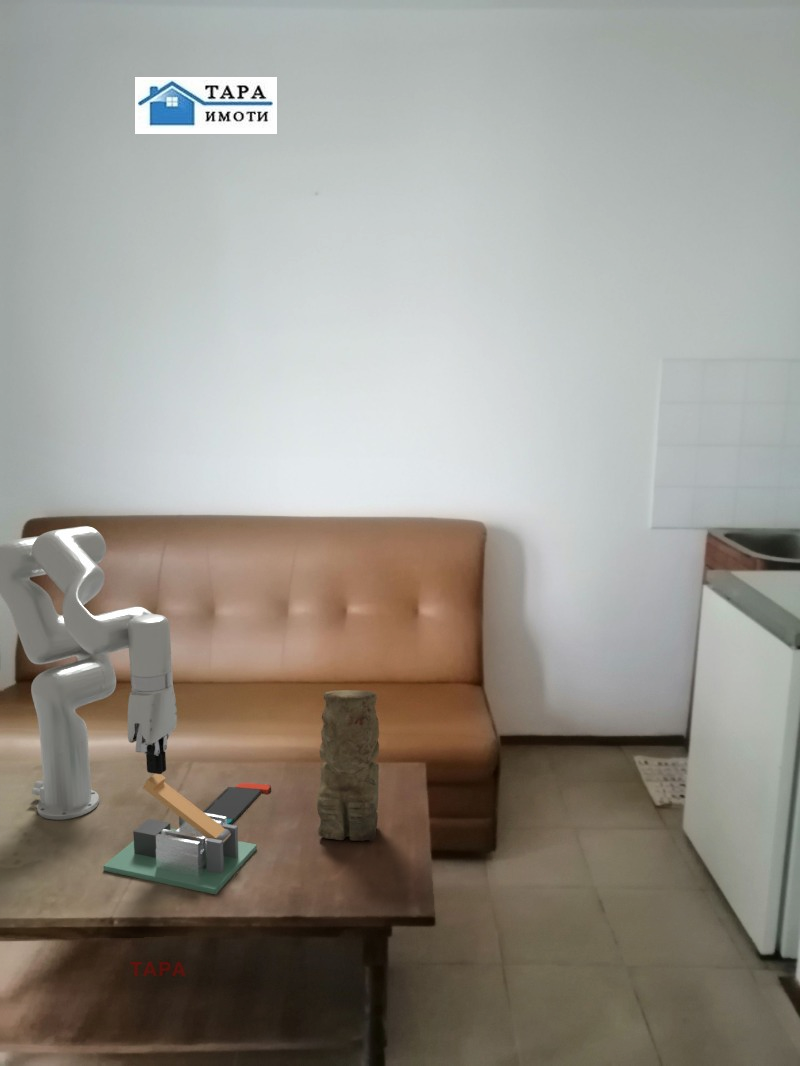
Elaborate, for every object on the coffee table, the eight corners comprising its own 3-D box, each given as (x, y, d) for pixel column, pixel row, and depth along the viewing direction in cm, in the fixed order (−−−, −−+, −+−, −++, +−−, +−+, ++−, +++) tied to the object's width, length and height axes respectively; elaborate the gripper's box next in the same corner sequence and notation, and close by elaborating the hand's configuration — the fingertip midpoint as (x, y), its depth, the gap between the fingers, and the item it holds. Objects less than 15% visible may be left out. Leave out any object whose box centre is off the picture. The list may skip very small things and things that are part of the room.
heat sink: (156, 868, 160) (155, 836, 159) (188, 838, 170) (187, 809, 169) (198, 876, 157) (197, 844, 156) (228, 846, 167) (227, 816, 166)
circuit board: (103, 870, 161) (101, 835, 160) (152, 829, 176) (151, 796, 175) (215, 894, 154) (214, 858, 152) (256, 849, 168) (255, 815, 167)
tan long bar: (228, 839, 163) (233, 830, 162) (219, 849, 159) (224, 839, 159) (152, 781, 166) (157, 771, 165) (142, 789, 163) (147, 779, 162)
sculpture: (315, 844, 170) (313, 702, 165) (321, 821, 179) (319, 686, 174) (376, 845, 170) (376, 704, 165) (379, 822, 179) (379, 687, 174)
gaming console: (192, 827, 178) (235, 831, 176) (191, 822, 178) (235, 826, 175) (233, 785, 197) (273, 789, 194) (233, 781, 196) (273, 784, 194)
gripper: (157, 666, 168) (162, 753, 171) (110, 691, 154) (116, 786, 157) (190, 670, 166) (194, 758, 169) (145, 696, 152) (150, 791, 155)
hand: (156, 771), depth 163 cm, fingers closed
